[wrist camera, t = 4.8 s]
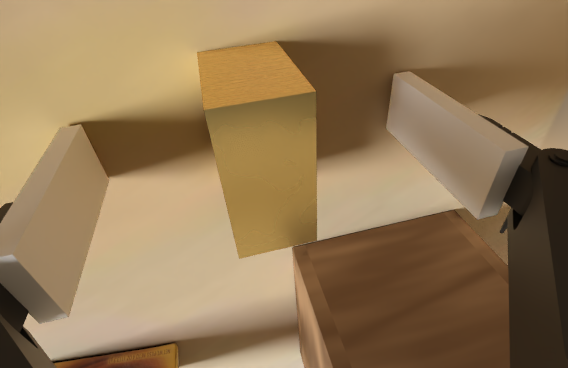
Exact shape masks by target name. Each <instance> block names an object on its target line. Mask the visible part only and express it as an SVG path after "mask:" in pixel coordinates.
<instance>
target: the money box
mask: <svg viewBox="0 0 568 368" xmlns="http://www.w3.org/2000/svg"><path fill="white" fill-rule="evenodd" d="M292 250H293V263H294V276H295V289H296V302H297V315H298V328H299V341H300V353H301V356H302V360H303V364H304V367H305V368H510V339H509V279H508V266H507V265H506V264H505V263H504V262H503V261H502V260H501V259H500V258H499V256H498V255H497V254H496V253H495V252H494V251H493V250H492V249H491V248H490V247H489V246H488V245H487V244H486V243H485V242H484V241H483V240H482V239H481V238H480V237H479V235H478V234H477V233H476V232H475V231H474V230H473V229H472V228H471V227H470V226H469V225H468V224H467V223H466V222H465V221H464V220H463V219H462V218H461V217H460V216H459V214H458V213H457V212H456V211H455V210H452V211H447V212H443V213H439V214H435V215H430V216H426V217H422V218H417V219H413V220H409V221H405V222H400V223H396V224H392V225H387V226H383V227H379V228H374V229H370V230H366V231H362V232H357V233H353V234H349V235H344V236H340V237H336V238H332V239H327V240H323V241H319V242H314V243H310V244H306V245H302V246H297V247H293V248H292Z"/></svg>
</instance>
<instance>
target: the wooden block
mask: <svg viewBox="0 0 568 368" xmlns="http://www.w3.org/2000/svg"><path fill="white" fill-rule="evenodd" d="M197 57H198V65H199V74H200V82H201V91H202V100H203V108H204V113H205V118H206V122H207V126H208V130H209V134H210V138H211V143H212V147H213V151H214V155H215V159H216V163H217V168H218V172H219V176H220V180H221V184H222V189H223V193H224V197H225V201H226V205H227V209H228V214H229V218H230V222H231V226H232V230H233V234H234V239H235V243H236V247H237V251H238V255H239V259H240V258H244V257H248V256H253V255H257V254H261V253H265V252H270V251H274V250H278V249H283V248H287V247H291V246H295V245H300V244H304V243H308V242H313V241H317V157H316V90H315V89H314V88H313V87H312V85H311V84H310V83H309V82H308V80H307V79H306V78H305V77H304V75H303V74H302V73H301V72H300V70H299V69H298V68H297V67H296V65H295V64H294V63H293V62H292V60H291V59H290V58H289V57H288V55H287V54H286V53H285V52H284V50H283V49H282V48H281V47H280V46H279V44H278V43H277V42H276V41H275V42H267V43H260V44H253V45H246V46H239V47H232V48H225V49H218V50H210V51H203V52H197Z"/></svg>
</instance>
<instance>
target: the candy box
mask: <svg viewBox="0 0 568 368" xmlns="http://www.w3.org/2000/svg"><path fill="white" fill-rule="evenodd" d="M53 364H54V365H55V366H56V368H179V357H178V347H177V345H176V344H175V343H173V344H168V345H162V346H160V347H154V348H148V349H141V350H135V351H128V352H123V353H116V354H110V355H104V356H97V357H91V358H84V359H78V360H72V361H66V362H59V363H53Z"/></svg>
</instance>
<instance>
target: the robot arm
mask: <svg viewBox="0 0 568 368" xmlns="http://www.w3.org/2000/svg"><path fill="white" fill-rule="evenodd" d="M386 129H387V130H388V131H389V132H390V133H391V134H392V135H393V136H394V137H395V138H396V139H397V140H398V141H399V142H400V143H401V144H402V145H403V146H404V147H405V148H406V149H407V150H408V151H409V152H410V153H411V154H412V155H413V156H414V157H415V158H416V159H417V160H418V161H419V162H420V163H421V164H422V165H423V166H424V167H425V168H426V169H427V170H428V171H429V172H430V173H431V174H432V175H433V176H434V177H435V178H436V179H437V180H438V181H439V182H440V183H441V184H442V185H443V186H444V187H445V188H446V189H447V190H448V191H449V192H450V193H451V194H452V195H453V196H454V197H455V198H456V199H457V200H458V201H459V202H460V203H461V204H462V205H463V206H464V207H465V208H466V209H467V210H468V211H469V212H470V213H471V214H472V215H473V216H474V217H475V218H476V219H477V220H478V219H482V218H486V217H490V216H494V215H497V214H498V212H499V210H500V208H501V205H502V203H503V201H504V202H506V203H507V204H508V205H509V206H510V207H511V209H510V211H509V213H508V216H507V218H506V220H505V222H504V224H503V226H502V228H501V230H500V233H504V231H505V229H507V228H508V279H509V339H510V368H568V151H567V150H563V149H555V148H550V149H543V150H541V149H539V148H537V147H536V146H534V145H533V144H531V143H529V142H528V141H526V140H525V139H523V138H521V137H520V136H518V135H517V134H515V133H511V131H510V130H508V129H507V128H505V127H502V125H500V124H499V123H497V122H496V121H494V120H492V119H490V118H487V117H484V116H482V115H479V114H476V113H475V112H473V111H472V110H470V109H468V108H467V107H465V106H464V105H462V104H461V103H459V102H457V101H456V100H454V99H453V98H451V97H450V96H448V95H446V94H445V93H443V92H442V91H440V90H438V89H437V88H435V87H434V86H432V85H431V84H429V83H427V82H426V81H424V80H423V79H421V78H420V77H418V76H416V75H415V74H413V73H412V72H410V71H408V72H401V73H395V74H394V75H393V83H392V90H391V97H390V104H389V111H388V118H387V125H386ZM108 183H109V179H108V177H107V175H106V173H105V171H104V169H103V167H102V165H101V163H100V161H99V159H98V157H97V155H96V153H95V151H94V149H93V147H92V145H91V143H90V141H89V139H88V137H87V135H86V133H85V131H84V129H83V127H82V125H81V124H80V125H74V126H68V127H62V128H60V129H59V130H58V132H57V133H56V135H55V137H54V138H53V140H52V141H51V143H50V145H49V146H48V148H47V149H46V151H45V153H44V154H43V156H42V157H41V159H40V161H39V162H38V164H37V165H36V167H35V169H34V170H33V172H32V173H31V175H30V177H29V178H28V180H27V181H26V183H25V185H24V186H23V188H22V189H21V191H20V193H19V194H18V196H17V197H16V199H15V201H14V202H12V203H7V204H5V205H3V206H2V207H1V208H0V368H56V366H55V365H54V364H53V363H52V361H51V360H50V359H49V357H48V356H47V355H46V353H45V352H44V351H43V349H42V348H41V347H40V345H39V344H38V343H37V342H36V340H35V339H34V338H33V336H32V335H31V334H30V332H29V331H28V330H27V329H25V328H24V327H23V324H24V322H25V319H26V317H27V315H28V313H29V314H30V315H31V316H32V317H33V318H34V319H35V320H36V321H37V322H38V323H39V324H41V323H45V322H50V321H54V320H58V319H62V318H66V317H69V314H70V311H71V307H72V304H73V301H74V297H75V294H76V291H77V287H78V284H79V280H80V277H81V274H82V270H83V267H84V264H85V260H86V257H87V254H88V250H89V247H90V244H91V240H92V237H93V233H94V230H95V227H96V223H97V220H98V217H99V213H100V210H101V207H102V203H103V200H104V197H105V193H106V190H107V186H108Z"/></svg>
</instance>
